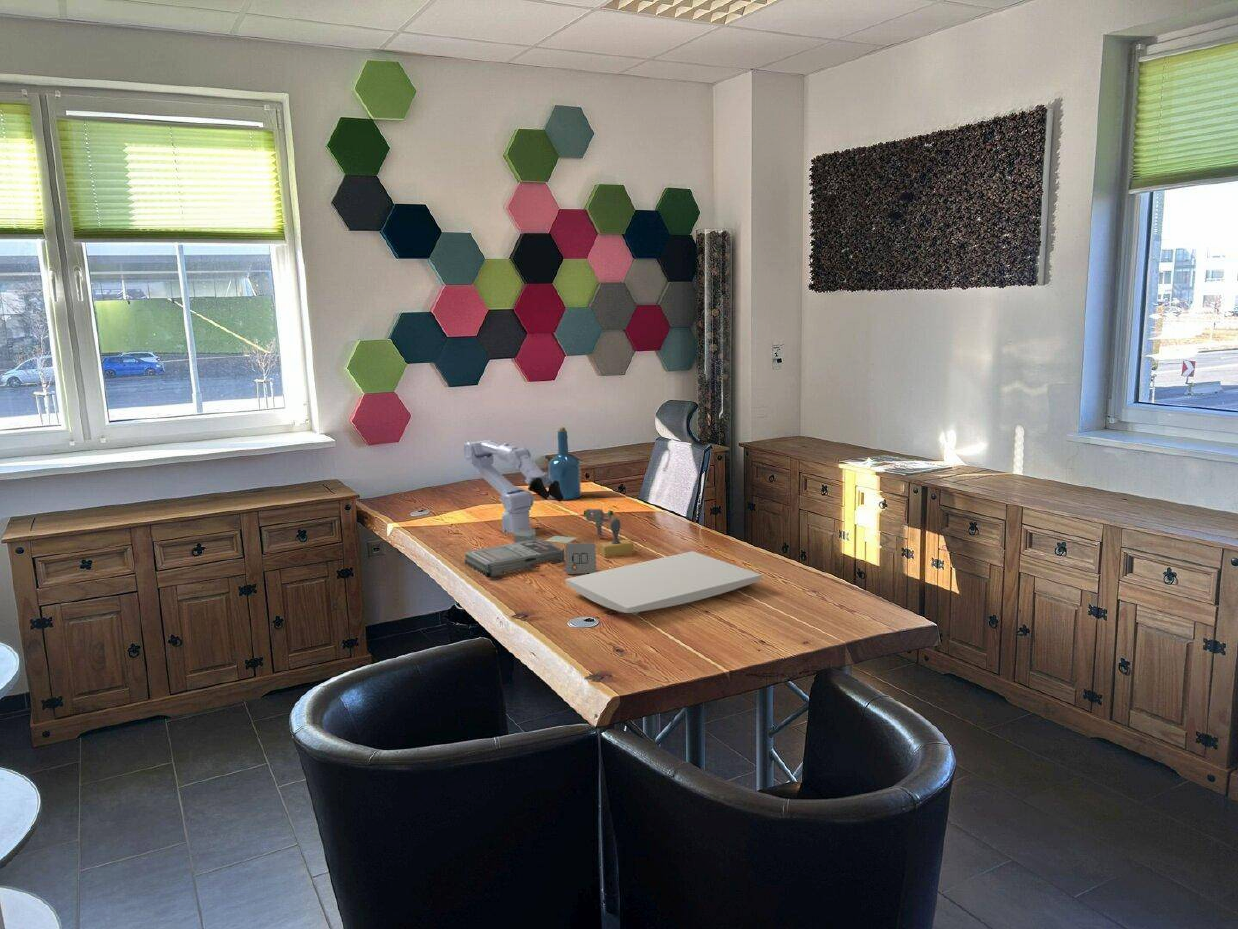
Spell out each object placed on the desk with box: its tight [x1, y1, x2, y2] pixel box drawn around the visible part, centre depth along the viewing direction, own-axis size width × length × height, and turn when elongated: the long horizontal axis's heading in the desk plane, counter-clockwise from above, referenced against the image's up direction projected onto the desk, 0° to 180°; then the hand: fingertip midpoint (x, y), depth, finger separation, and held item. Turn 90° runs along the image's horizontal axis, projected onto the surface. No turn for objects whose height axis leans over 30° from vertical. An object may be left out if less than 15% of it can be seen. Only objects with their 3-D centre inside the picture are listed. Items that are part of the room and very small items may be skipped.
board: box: [564, 550, 763, 616], centre depth 260 cm, size 45×32×5 cm
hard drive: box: [464, 538, 566, 578], centre depth 295 cm, size 18×27×4 cm
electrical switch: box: [564, 542, 597, 575], centre depth 282 cm, size 9×5×9 cm, turn 90°
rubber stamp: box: [598, 517, 634, 558], centre depth 301 cm, size 10×6×12 cm, turn 109°
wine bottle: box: [548, 426, 582, 501], centre depth 389 cm, size 14×13×30 cm
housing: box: [513, 528, 537, 543], centre depth 311 cm, size 6×4×5 cm, turn 63°
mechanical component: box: [583, 508, 614, 536], centre depth 322 cm, size 3×10×10 cm, turn 79°
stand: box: [544, 535, 578, 544], centre depth 317 cm, size 9×7×2 cm
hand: (554, 498), depth 312 cm, fingers open, 7 cm apart
